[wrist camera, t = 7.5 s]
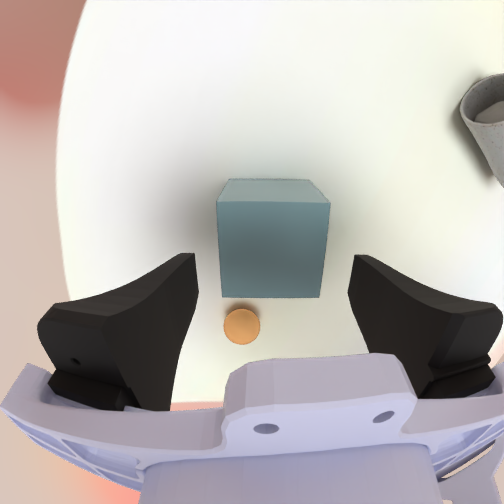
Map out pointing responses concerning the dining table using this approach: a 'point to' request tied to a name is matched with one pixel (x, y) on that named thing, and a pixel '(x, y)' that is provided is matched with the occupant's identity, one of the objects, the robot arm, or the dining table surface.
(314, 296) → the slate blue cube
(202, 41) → the dining table surface
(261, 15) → the dining table surface
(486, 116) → the ceramic mug
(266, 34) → the dining table surface
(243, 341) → the orange ball
